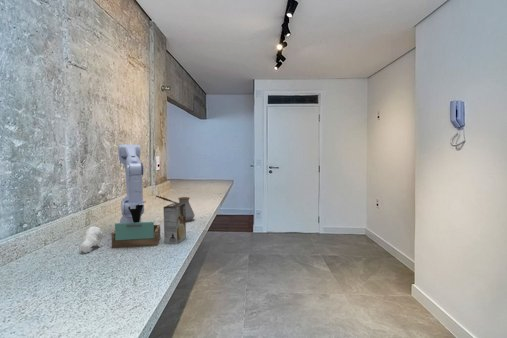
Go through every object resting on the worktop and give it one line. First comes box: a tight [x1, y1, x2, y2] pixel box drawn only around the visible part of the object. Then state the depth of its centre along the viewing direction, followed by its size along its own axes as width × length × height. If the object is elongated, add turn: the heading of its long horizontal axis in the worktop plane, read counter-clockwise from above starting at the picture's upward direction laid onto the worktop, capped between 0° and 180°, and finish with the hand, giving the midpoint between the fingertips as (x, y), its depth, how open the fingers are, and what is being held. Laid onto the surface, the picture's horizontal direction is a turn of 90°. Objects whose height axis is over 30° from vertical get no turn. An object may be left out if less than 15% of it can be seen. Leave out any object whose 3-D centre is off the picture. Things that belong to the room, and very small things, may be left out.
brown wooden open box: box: [111, 224, 161, 249], centre depth 138 cm, size 12×18×6 cm, turn 100°
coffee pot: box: [154, 195, 195, 223], centre depth 177 cm, size 21×12×15 cm, turn 107°
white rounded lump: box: [79, 225, 104, 254], centre depth 129 cm, size 6×8×12 cm
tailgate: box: [114, 221, 155, 240], centre depth 132 cm, size 2×15×7 cm, turn 101°
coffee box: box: [163, 202, 187, 245], centre depth 140 cm, size 9×6×16 cm
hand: (136, 222), depth 136 cm, fingers closed
